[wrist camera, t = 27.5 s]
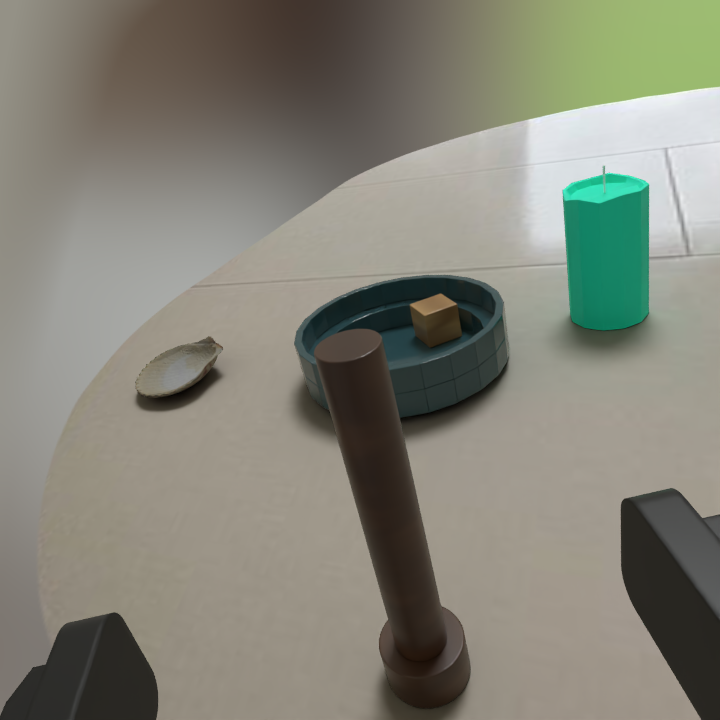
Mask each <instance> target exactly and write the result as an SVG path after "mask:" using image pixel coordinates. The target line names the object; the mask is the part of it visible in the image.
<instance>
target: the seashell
mask: <svg viewBox="0 0 720 720" xmlns="http://www.w3.org/2000/svg"><path fill="white" fill-rule="evenodd" d="M222 350H223V347H222V346H221V345H219V344H217V343H216V342H215V341H214V339H213V338H212V337H207V338H206V339H203V340H201V341H199V342H196V343H190V344H185V345H181V346H178V347H175V348H173V349H170V350H167V351H165V352H164V353H162V354H160V356H157V357H155V358H154V360H152V361H150V363H149V364H147V365H146V367H145V368H144V369H142V372H141V373H140V374H139V377H137V380H136V382H135V383H136V389H137V391H138V393H139V394H141V396H145V397H148V398H151V397H152V398H157V397H163V396H168V395H172V394H175V393H178V392H181V391H183V390H185V389H187V388H189V387H191V386H192V385H194V384H195V383H197V382H198V381H200V380H201V379H202V378H203V377H204V376H205V375H206V374H207V373H208V372H209V370H210V369H211V368H212V366H213V365H214V363H215V361H216V359H217V356H218V355H219V354H220V353H221V351H222Z"/></svg>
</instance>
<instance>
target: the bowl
mask: <svg viewBox="0 0 720 720" xmlns="http://www.w3.org/2000/svg"><path fill="white" fill-rule="evenodd" d="M438 294H442V295H444V296H446V297H447V298H449V299H450V300H452V301H453V302H455V303H456V304H457V306H458V313H459V319H460V326H461V332H462V336H461V337H458V338H456V339H453V340H450V341H448V342H445V343H442V344H440V345H437V346H434V347H431V348H430V347H429V346H427V345H426V344H425V343H424V342H423V341H421V340H420V339H419V338H418V337H417V336H416V335H415V331H414V326H413V321H412V315H411V310H410V304H412V303H415V302H418V301H421V300H424V299H427V298H429V297H432V296H435V295H438ZM352 329H369V330H373V331H376V332H378V333H379V334H380V335H381V337H382V340H383V344H384V349H385V353H386V358H387V362H388V367H389V371H390V376H391V381H392V385H393V390H394V394H395V399H396V403H397V408H398V412H399V417H400V418H402V417H407V416H413V415H418V414H424V413H428V412H433V411H436V410H438V409H441V408H444V407H447V406H450V405H453V404H456V403H457V402H460V401H462V400H464V399H466V398H467V397H469V396H471V395H473V394H475V393H477V392H479V391H480V390H482V389H483V388H484V387H485V386H487V385H488V384H489V383H490V382H491V381H492V380H494V379H495V378H496V377H497V376H498V375H499V374H500V372H501V370H502V369H503V367H504V366H505V364H506V362H507V361H508V352H509V342H508V334H507V326H506V316H505V307H504V302H503V300H502V298H501V296H500V294H499V292H498V291H497V290H495V289H494V288H492V287H491V286H489V285H488V284H486V283H484V282H481V281H478V280H475V279H471V278H467V277H459V276H452V275H422V276H413V277H403V278H398V279H393V280H388V281H383V282H379V283H376V284H372V285H369V286H366V287H362V288H359V289H356V290H354V291H351V292H349V293H346V294H344V295H342V296H339V297H337V298H335V299H334V300H332V301H330V302H328V303H327V304H325V305H323V306H321V307H320V308H318V309H317V310H316V311H315V312H313V313H312V314H311V315H310V316H309V317H307V318H306V319H305V320H304V321H303V323H302V324H301V326H300V327H299V328H298V330H297V332H296V337H295V342H294V345H295V348H296V352H297V355H298V358H299V362H300V365H301V369H302V372H303V375H304V379H305V382H306V386H307V388H308V390H309V393H310V395H311V397H312V398H313V399H314V400H315V401H317V402H318V403H319V404H320V405H321V406H323V407H324V408H326V409H328V410H329V407H328V403H327V400H326V396H325V392H324V389H323V385H322V382H321V378H320V375H319V371H318V367H317V364H316V360H315V357H314V350H315V348H316V346H317V345H318V344H319V343H320V342H321V341H323V340H324V339H326V338H327V337H329V336H331V335H334V334H336V333H339V332H343V331H347V330H352Z"/></svg>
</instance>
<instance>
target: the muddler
mask: <svg viewBox="0 0 720 720" xmlns="http://www.w3.org/2000/svg"><path fill="white" fill-rule="evenodd" d="M314 357H315V360H316V364H317V367H318V371H319V375H320V378H321V382H322V385H323V389H324V392H325V396H326V400H327V403H328V407H329V410H330V414H331V417H332V421H333V424H334V428H335V432H336V435H337V439H338V442H339V446H340V449H341V453H342V456H343V460H344V464H345V467H346V471H347V474H348V478H349V481H350V485H351V488H352V492H353V496H354V499H355V503H356V506H357V510H358V513H359V517H360V521H361V524H362V528H363V531H364V535H365V538H366V542H367V545H368V549H369V553H370V556H371V560H372V563H373V567H374V570H375V574H376V577H377V581H378V585H379V588H380V592H381V595H382V599H383V602H384V606H385V610H386V613H387V617H388V621H387V622H386V623H385V625H384V627H383V629H382V631H381V634H380V638H379V650H380V654H381V657H382V661H383V664H384V667H385V671H386V674H387V677H388V681H389V684H390V686H391V688H392V690H393V691H394V693H395V694H396V695H397V696H398V697H399V698H400V699H401V700H403V701H404V702H406V703H407V704H409V705H412V706H415V707H419V708H435V707H439V706H443V705H445V704H447V703H449V702H451V701H452V700H454V699H455V698H456V697H457V696H458V695H459V694H460V693H461V692H462V691H463V689H464V688H465V686H466V684H467V682H468V679H469V676H470V660H469V655H468V650H467V645H466V640H465V635H464V630H463V627H462V625H461V623H460V621H459V620H458V618H457V617H456V616H455V615H454V614H453V613H452V612H451V611H449V610H448V609H446V608H444V607H442V606H441V604H440V599H439V595H438V590H437V585H436V581H435V576H434V572H433V567H432V563H431V558H430V554H429V549H428V544H427V540H426V535H425V531H424V526H423V522H422V517H421V513H420V508H419V503H418V499H417V494H416V490H415V485H414V481H413V476H412V472H411V467H410V462H409V458H408V453H407V449H406V444H405V440H404V435H403V431H402V426H401V422H400V417H399V412H398V408H397V403H396V399H395V394H394V390H393V385H392V381H391V376H390V371H389V367H388V362H387V358H386V353H385V349H384V344H383V340H382V337H381V335H380V334H379V333H378V332H376V331H373V330H369V329H352V330H347V331H343V332H339V333H336V334H334V335H331V336H329V337H327V338H326V339H324V340H323V341H321V342H320V343H319V344H318V345H317V346H316V348H315V350H314Z"/></svg>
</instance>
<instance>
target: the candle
mask: <svg viewBox="0 0 720 720" xmlns="http://www.w3.org/2000/svg"><path fill="white" fill-rule="evenodd" d="M563 205H564V221H565V237H566V254H567V270H568V286H569V302H570V315H571V319H572V322H574V323H576V324H578V325H580V326H582V327H583V328H589V329H596V330H603V331H604V330H614V329H624V328H627V327H630V326H632V325H635V324H638V323H640V322H642V321H643V320H644V318H645V317H646V316H647V315H648V314H649V184H648V183H647V182H646V181H644V180H641V179H638V178H635V177H632V176H628V175H621V174H613V173H607V174H605V165H603V175H600V176H596V177H592V178H588V179H585V180H581V181H577V182H574V183H571V184H570V185H569V186H567V187H566V188H565V189H564V190H563Z"/></svg>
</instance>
